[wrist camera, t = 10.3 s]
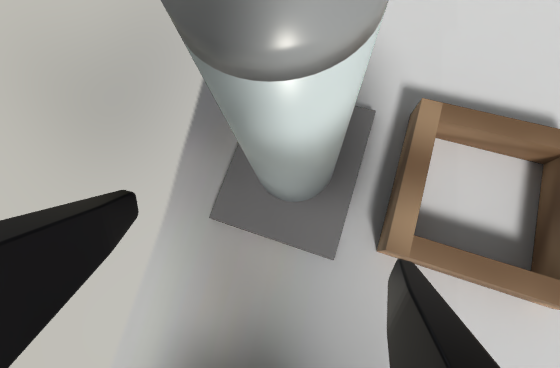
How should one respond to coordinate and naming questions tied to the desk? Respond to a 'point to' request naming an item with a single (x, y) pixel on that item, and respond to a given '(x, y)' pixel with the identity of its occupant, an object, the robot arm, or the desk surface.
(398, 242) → the walnut collar
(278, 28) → the pale grey cylinder
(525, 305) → the desk surface
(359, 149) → the rubber mat
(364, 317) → the desk surface
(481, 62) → the desk surface
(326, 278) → the desk surface
